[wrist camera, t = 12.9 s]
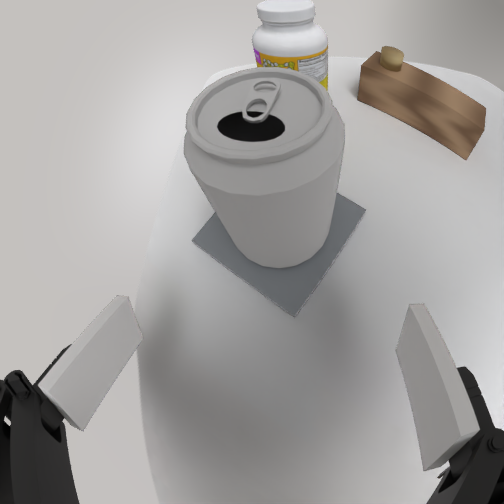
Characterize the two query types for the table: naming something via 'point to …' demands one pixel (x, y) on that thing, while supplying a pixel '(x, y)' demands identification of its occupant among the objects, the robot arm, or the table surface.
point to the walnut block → (421, 101)
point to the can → (268, 161)
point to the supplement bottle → (291, 38)
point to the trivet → (289, 278)
